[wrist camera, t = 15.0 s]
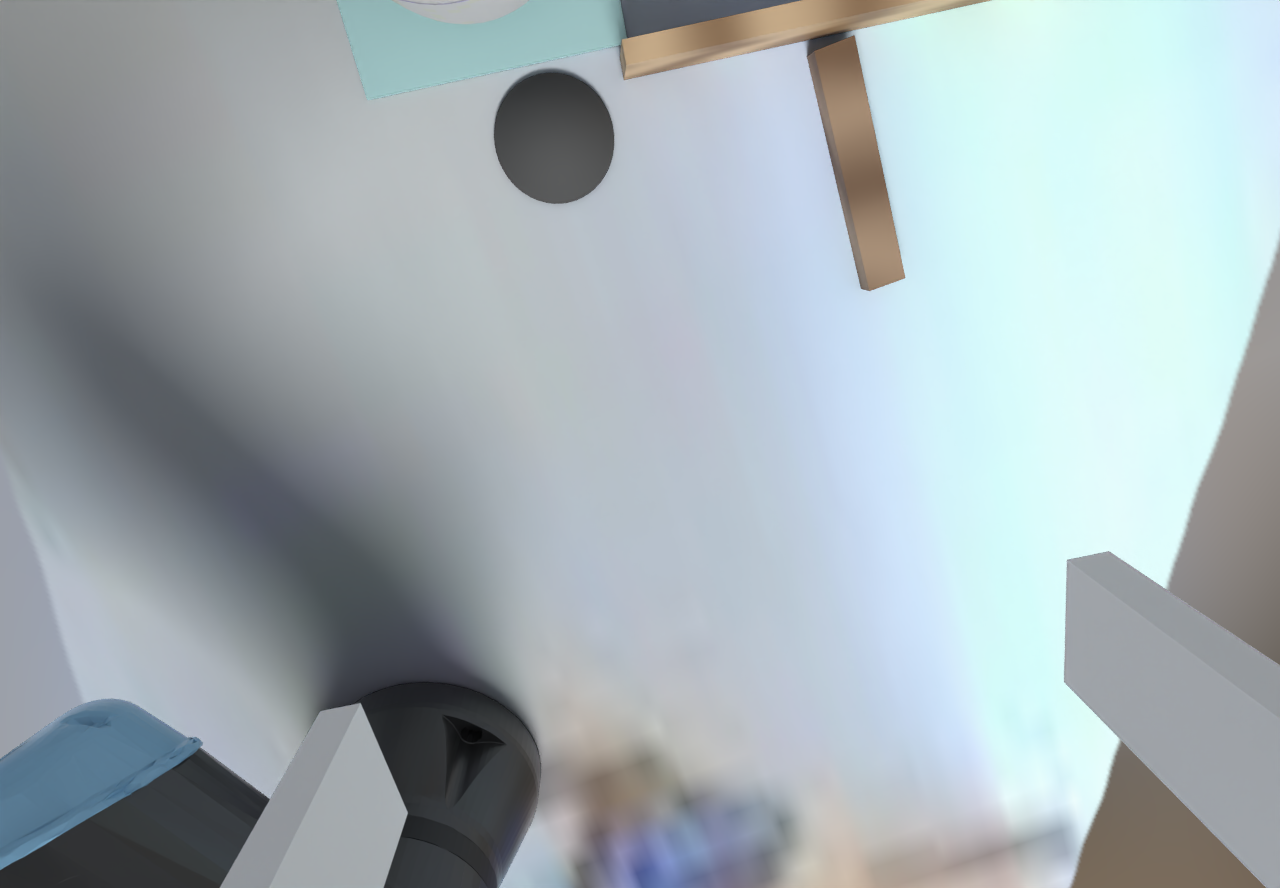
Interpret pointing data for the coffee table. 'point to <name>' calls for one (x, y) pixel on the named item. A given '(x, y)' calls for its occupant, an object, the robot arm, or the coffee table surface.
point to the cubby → (765, 31)
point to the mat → (470, 41)
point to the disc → (554, 138)
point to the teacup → (462, 9)
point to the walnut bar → (856, 162)
